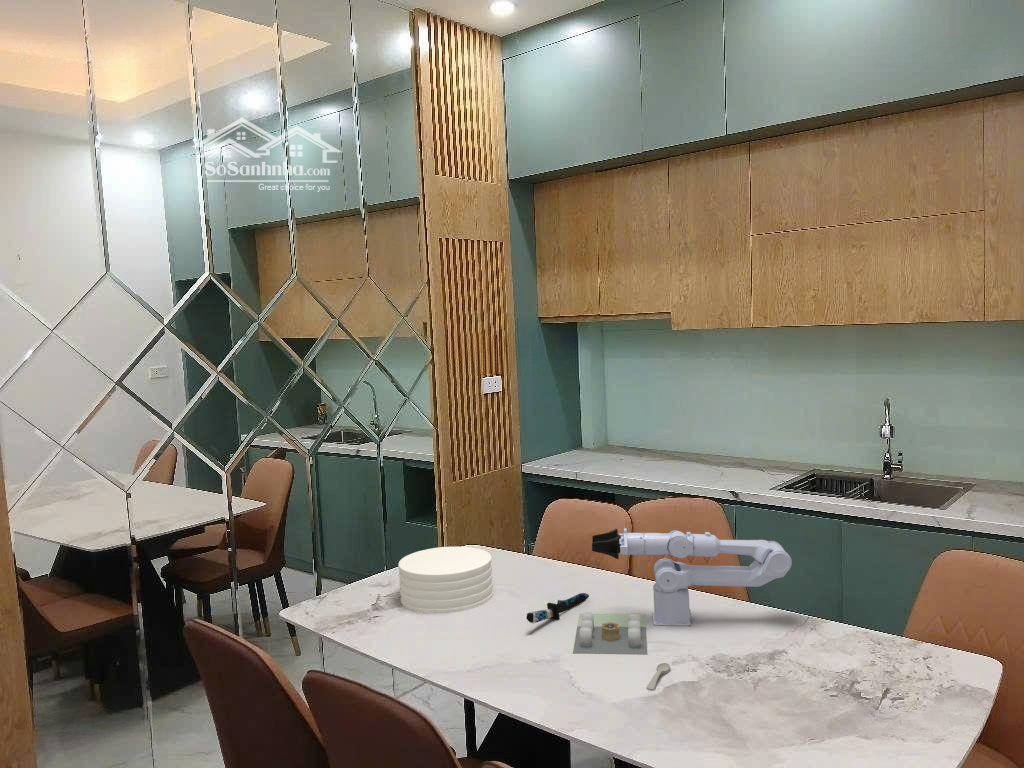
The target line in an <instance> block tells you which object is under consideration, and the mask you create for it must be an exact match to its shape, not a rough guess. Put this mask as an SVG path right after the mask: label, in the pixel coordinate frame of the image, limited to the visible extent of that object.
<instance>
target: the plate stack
mask: <svg viewBox="0 0 1024 768" xmlns="http://www.w3.org/2000/svg"><path fill="white" fill-rule="evenodd" d="M398 570H399V571H398V574H399V575H398V576H399V595H400V603H401V605H402V606H403V607H404V608H406V609H408V610H410V611H413V612H417V613H422V614H423V613H424V614H449V613H450V614H451V612H452V613H457V612H463V611H467V610H468V611H469V610H471V609H475V608H478V607H481V606H483V605H485V604H487V603H488V602H490V600H492V598H493V596H494V588H493V587H494V581H493V572H492V571H493V564H492V555H491V554H490V552H488V551H486V550H485V549H481V548H478V547H477V548H476V547H472V546H471V547H470V546H441V547H433V548H427V549H423V550H418V551H415V552H413V553H410V554H407V555H405V556H404V557H402V558H401V559H400V560H399V562H398Z"/></svg>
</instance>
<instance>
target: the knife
mask: <svg viewBox="0 0 1024 768" xmlns="http://www.w3.org/2000/svg"><path fill="white" fill-rule="evenodd" d="M589 597H590V594H589V593H586V592H582V593H581V592H580V593H578V594H576V595H573V596H572V597H569V598H567V599H563V600H560V599H557V603H553V602H547V603H546V609H541V610H535V611H531V612H530V611H529V612H528V613H526V620H527V621H528V622H529V623H530V624H536V623H541V622H542V621H545V620H547V619H548V620H549V619H553V620H557V621H558V620H560V614H561V613H564V612H566V611H569V610H572V609H573V608H575V607H576V606H579V605H581V604H582V603H583V602H585V601H587V600H588V598H589Z"/></svg>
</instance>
